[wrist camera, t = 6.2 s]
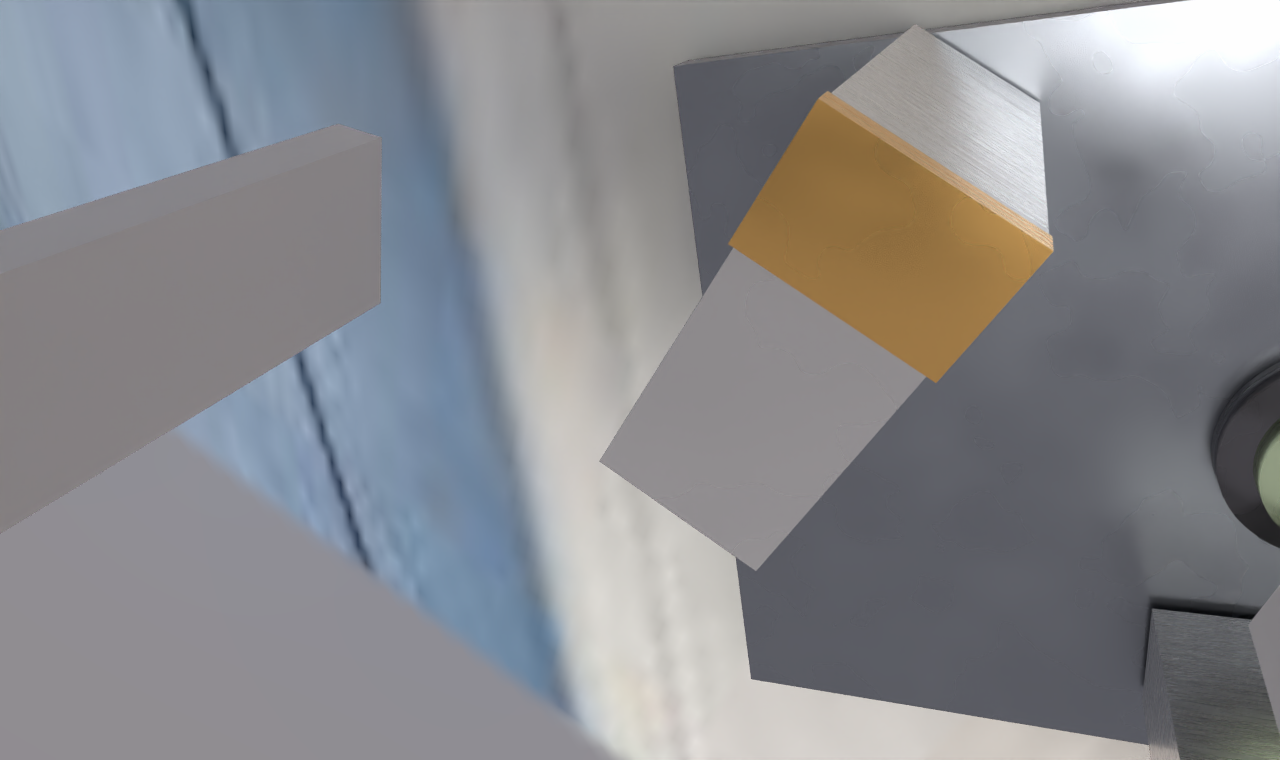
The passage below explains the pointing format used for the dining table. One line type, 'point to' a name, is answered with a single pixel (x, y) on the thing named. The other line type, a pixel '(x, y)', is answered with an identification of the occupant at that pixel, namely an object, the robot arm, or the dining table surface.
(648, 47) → the dining table surface
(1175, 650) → the banded metal block
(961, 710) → the board
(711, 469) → the orange and grey block
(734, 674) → the dining table surface
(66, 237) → the robot arm
